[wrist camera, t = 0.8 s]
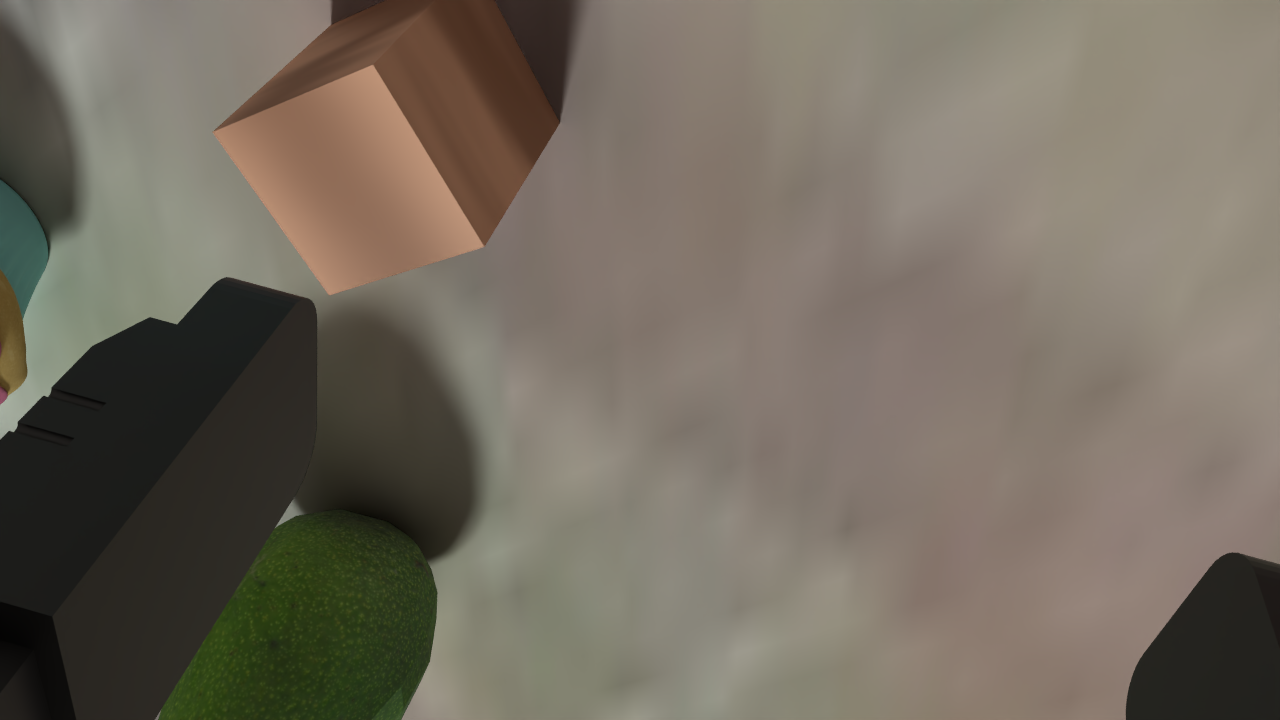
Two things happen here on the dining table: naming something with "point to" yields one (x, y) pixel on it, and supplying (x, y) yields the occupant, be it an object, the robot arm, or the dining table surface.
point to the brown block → (393, 138)
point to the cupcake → (17, 282)
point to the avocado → (317, 628)
